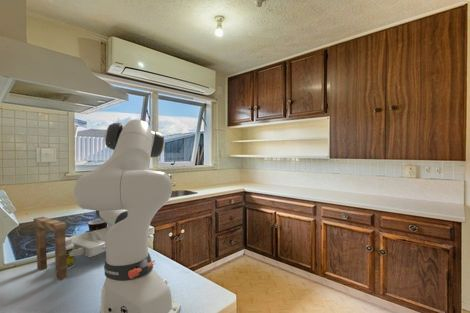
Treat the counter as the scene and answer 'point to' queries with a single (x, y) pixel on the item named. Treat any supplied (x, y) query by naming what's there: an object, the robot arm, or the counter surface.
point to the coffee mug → (97, 225)
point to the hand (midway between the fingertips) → (63, 252)
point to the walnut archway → (60, 244)
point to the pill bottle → (69, 246)
